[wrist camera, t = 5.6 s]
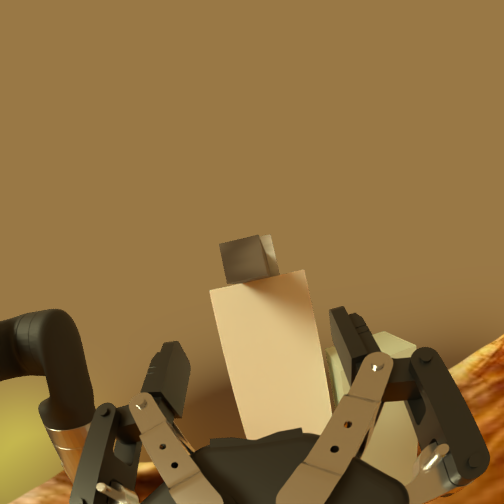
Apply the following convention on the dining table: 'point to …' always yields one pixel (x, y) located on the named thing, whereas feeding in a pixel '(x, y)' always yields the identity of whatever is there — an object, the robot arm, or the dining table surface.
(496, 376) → the dining table surface
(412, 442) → the grey green tall block
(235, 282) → the handle
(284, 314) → the tall stand
